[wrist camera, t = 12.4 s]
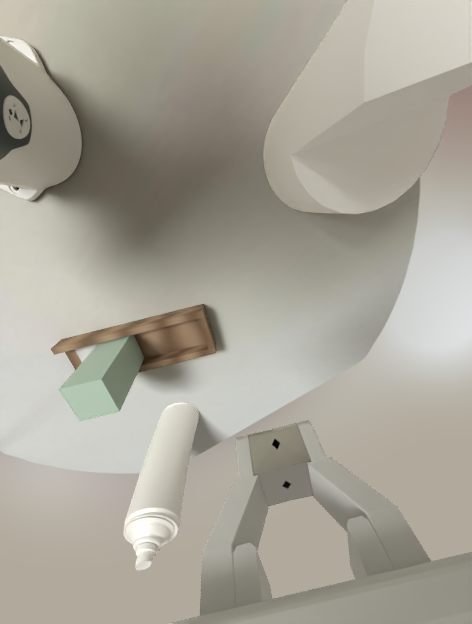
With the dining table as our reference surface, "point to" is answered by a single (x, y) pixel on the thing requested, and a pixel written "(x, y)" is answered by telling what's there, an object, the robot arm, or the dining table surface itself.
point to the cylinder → (369, 105)
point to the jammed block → (103, 378)
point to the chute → (152, 338)
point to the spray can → (161, 483)
